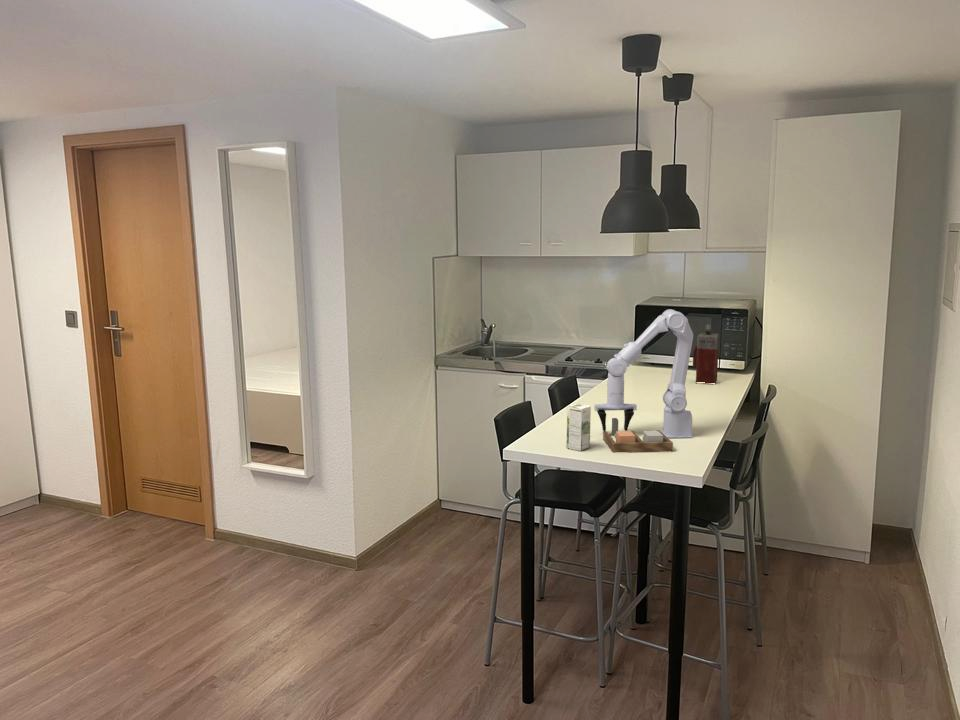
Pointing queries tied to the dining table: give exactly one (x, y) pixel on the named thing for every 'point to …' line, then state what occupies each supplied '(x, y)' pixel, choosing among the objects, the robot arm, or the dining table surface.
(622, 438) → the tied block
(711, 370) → the red liquid bottle
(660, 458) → the dining table surface
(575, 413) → the syrup box
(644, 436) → the grey block
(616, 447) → the wooden divided tray
